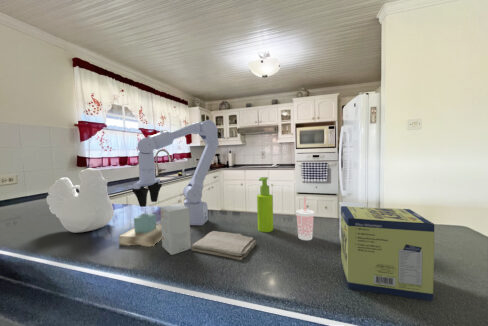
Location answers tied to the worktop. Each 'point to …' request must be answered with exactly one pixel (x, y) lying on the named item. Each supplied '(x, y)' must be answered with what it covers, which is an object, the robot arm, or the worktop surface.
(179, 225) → the small box
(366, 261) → the protein box
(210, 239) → the washcloth
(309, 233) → the beverage cup
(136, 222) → the teal block
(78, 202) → the decorative rooster
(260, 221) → the soap dispenser
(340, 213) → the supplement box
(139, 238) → the birch plinth
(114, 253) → the worktop surface
